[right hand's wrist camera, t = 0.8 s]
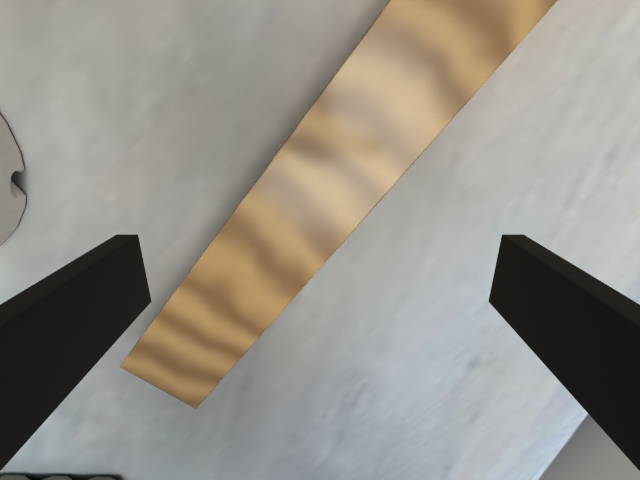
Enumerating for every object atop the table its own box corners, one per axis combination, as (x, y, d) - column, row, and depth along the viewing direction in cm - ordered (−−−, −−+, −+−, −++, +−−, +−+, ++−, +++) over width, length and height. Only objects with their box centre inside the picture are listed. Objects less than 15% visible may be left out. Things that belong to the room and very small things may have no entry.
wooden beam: (672, -378, 23) (793, -547, 17) (744, -248, 25) (875, -358, 19) (146, 332, 44) (119, 366, 38) (211, 370, 46) (195, 409, 40)
